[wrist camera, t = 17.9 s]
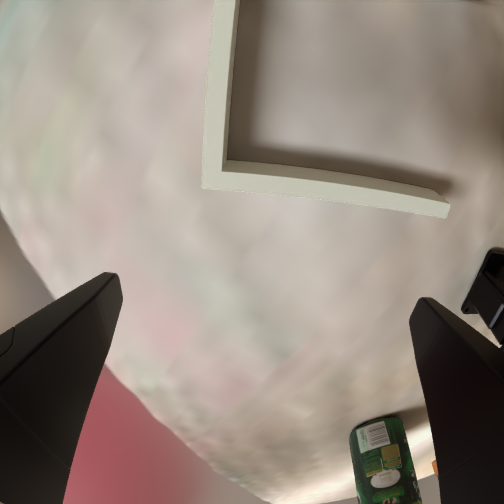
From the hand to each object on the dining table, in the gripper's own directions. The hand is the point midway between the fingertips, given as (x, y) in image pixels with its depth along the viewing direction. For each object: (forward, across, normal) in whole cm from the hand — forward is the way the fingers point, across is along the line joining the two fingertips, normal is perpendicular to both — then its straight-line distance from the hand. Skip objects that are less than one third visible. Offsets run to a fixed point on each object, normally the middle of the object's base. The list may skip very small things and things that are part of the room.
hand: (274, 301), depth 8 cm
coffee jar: (+11, -19, +32) cm, 39 cm away
